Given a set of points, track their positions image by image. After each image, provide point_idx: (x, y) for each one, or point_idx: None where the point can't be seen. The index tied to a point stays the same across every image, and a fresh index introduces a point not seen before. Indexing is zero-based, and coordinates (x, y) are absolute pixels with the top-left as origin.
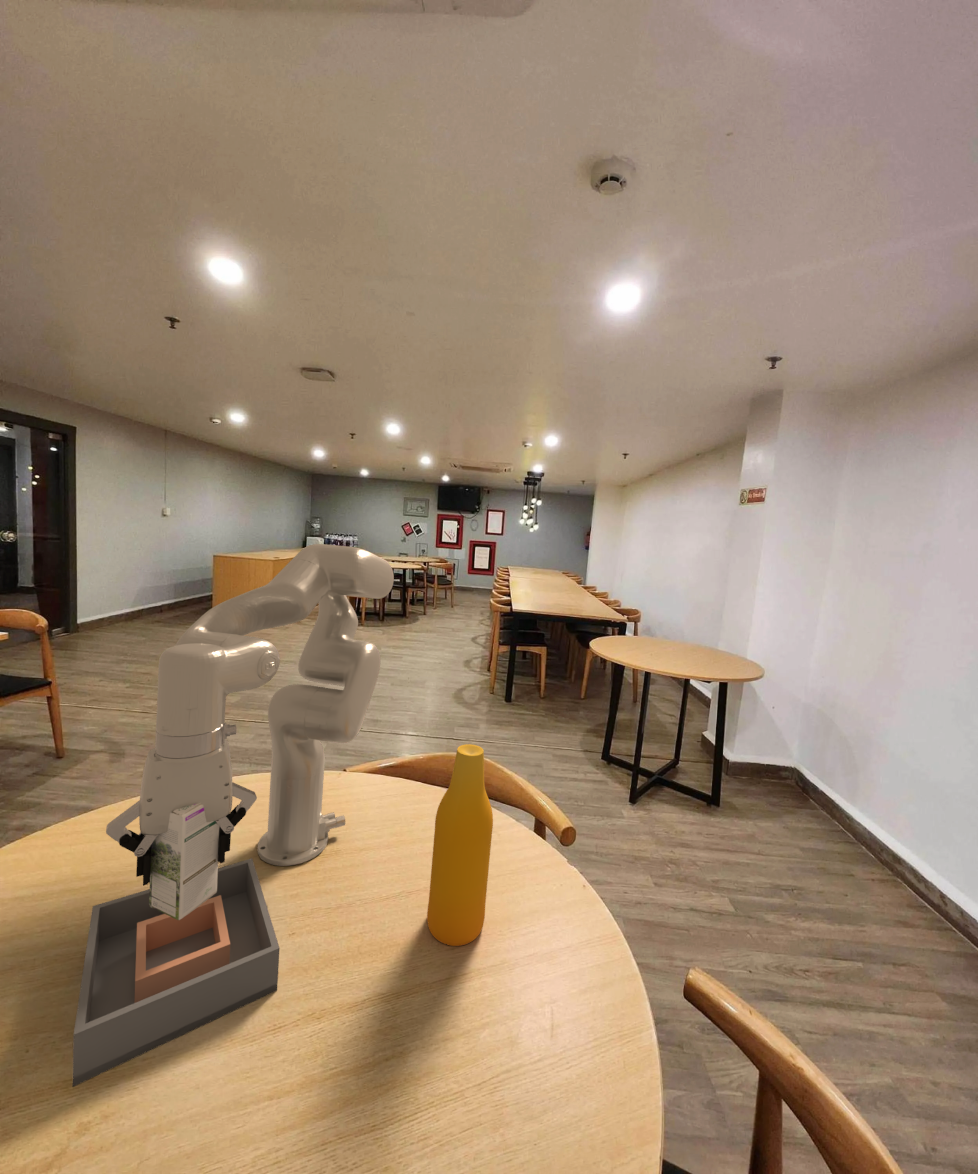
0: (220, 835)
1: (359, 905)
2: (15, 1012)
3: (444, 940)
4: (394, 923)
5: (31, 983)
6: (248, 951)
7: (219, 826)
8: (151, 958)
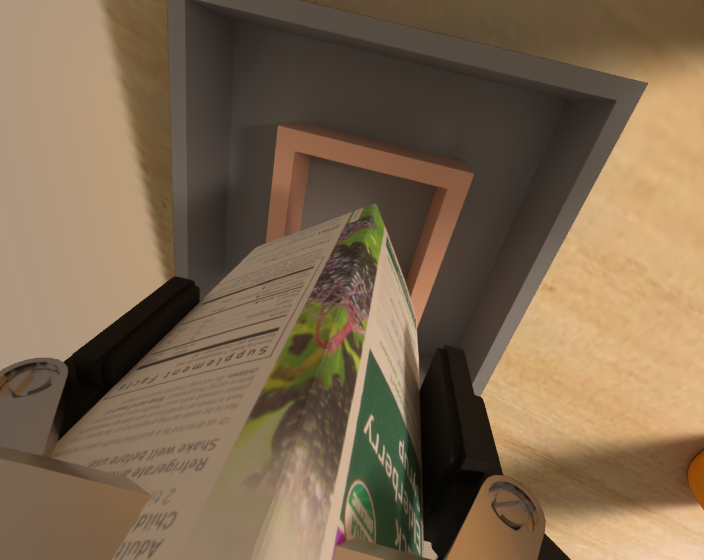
0: (423, 521)
1: (699, 324)
2: (131, 107)
3: (690, 485)
4: (688, 399)
5: (138, 41)
6: (459, 286)
7: (455, 480)
8: (319, 170)
